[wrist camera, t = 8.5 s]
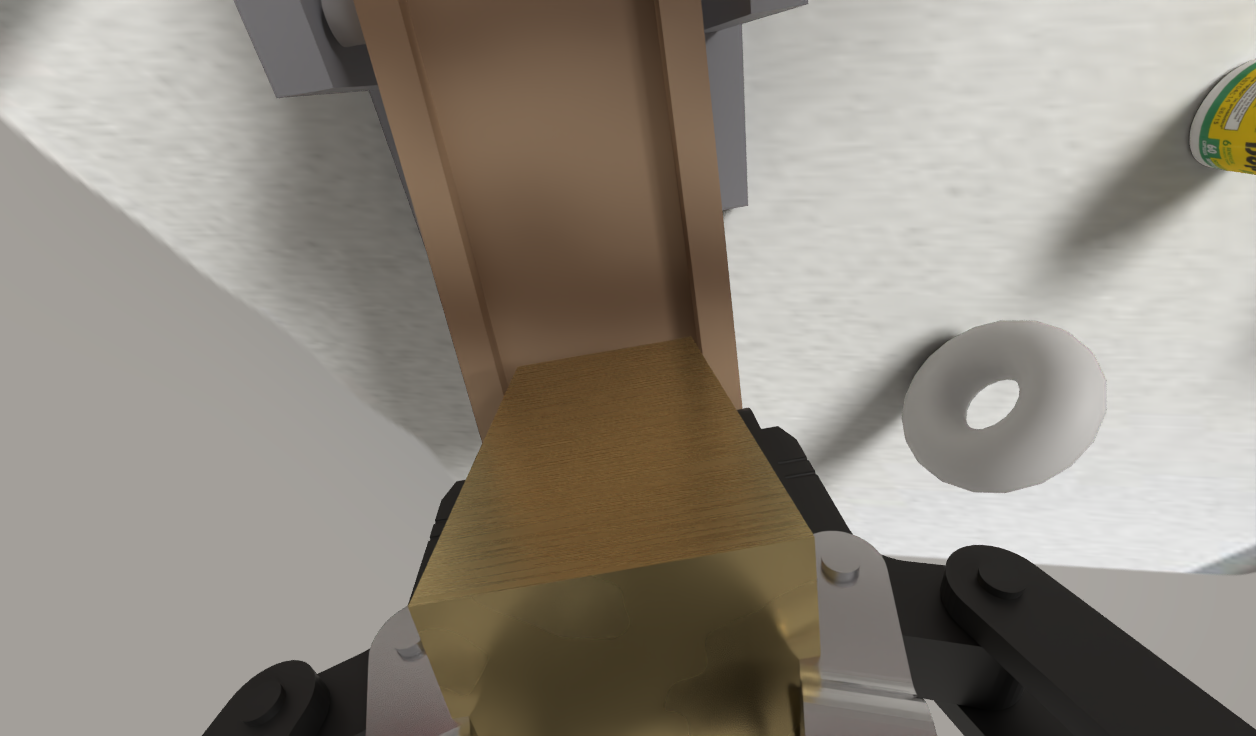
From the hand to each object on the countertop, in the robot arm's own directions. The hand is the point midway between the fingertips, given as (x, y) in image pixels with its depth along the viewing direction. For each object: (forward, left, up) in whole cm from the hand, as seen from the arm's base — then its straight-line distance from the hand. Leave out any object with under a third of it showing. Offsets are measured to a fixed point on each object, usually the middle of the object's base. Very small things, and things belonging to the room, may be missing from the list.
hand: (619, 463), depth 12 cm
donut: (+11, +20, -18) cm, 29 cm away
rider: (+1, 0, -2) cm, 2 cm away
